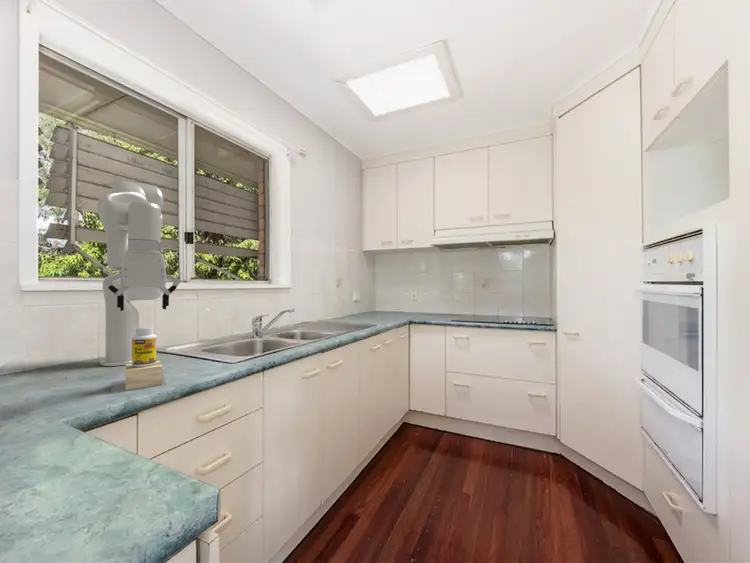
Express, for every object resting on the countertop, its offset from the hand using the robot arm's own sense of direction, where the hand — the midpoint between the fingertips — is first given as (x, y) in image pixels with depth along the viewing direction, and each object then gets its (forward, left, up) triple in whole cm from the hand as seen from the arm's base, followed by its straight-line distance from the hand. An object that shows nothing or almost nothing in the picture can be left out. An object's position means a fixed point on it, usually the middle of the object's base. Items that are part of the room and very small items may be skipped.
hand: (143, 309), depth 93 cm
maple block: (+1, 0, -20) cm, 20 cm away
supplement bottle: (0, 0, -16) cm, 16 cm away
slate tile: (0, -1, -21) cm, 21 cm away
